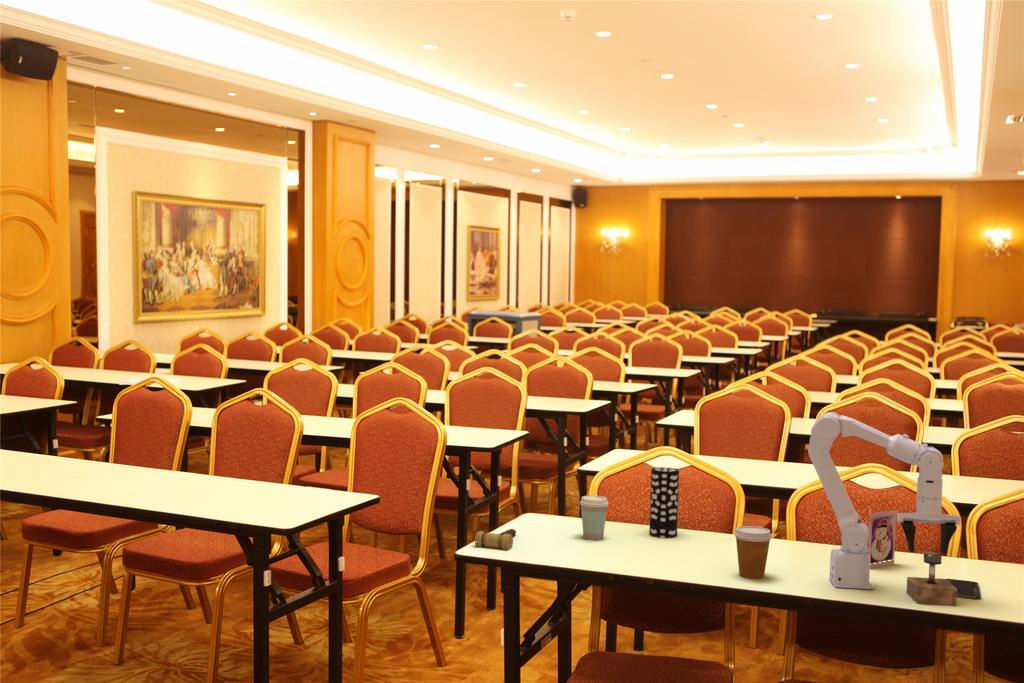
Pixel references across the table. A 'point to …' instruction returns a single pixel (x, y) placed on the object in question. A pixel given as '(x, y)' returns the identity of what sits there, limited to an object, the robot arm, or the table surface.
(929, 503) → the robot arm
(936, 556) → the dark round knob
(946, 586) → the box
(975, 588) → the phone
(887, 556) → the greeting card
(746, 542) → the disposable coffee cup
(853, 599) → the table surface
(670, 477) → the white-spotted black cylinder
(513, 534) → the gavel
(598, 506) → the coffee cup
